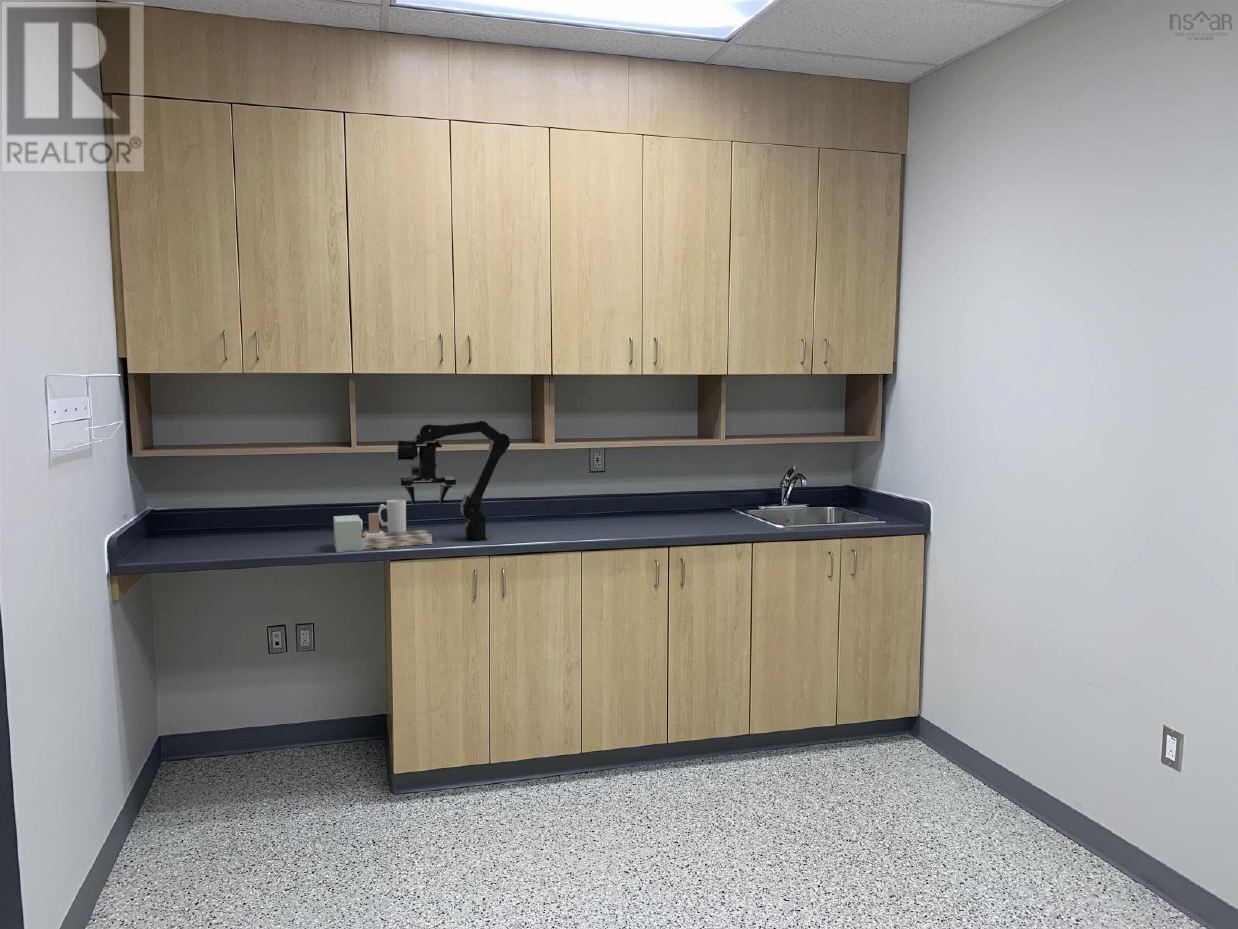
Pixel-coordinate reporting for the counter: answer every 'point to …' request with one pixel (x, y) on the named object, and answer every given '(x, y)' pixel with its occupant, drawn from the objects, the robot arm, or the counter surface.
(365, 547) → the patterned tray
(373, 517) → the brown post on base
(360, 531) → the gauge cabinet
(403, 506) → the mug
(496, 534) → the counter surface
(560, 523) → the counter surface
